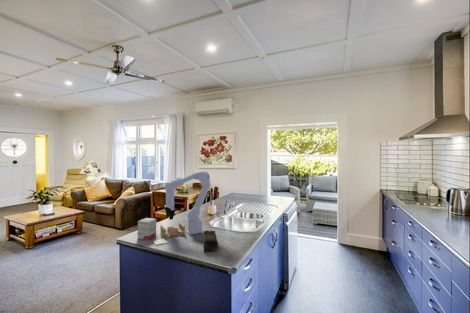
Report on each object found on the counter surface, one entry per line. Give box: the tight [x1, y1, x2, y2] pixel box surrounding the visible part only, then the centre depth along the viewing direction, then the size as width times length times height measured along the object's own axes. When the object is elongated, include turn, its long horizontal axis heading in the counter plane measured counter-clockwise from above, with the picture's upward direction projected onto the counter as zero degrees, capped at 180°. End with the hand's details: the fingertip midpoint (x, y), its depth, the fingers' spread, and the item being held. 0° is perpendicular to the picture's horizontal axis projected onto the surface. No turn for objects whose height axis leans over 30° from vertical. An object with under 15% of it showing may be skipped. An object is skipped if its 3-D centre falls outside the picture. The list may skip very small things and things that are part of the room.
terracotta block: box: [166, 225, 179, 237], centre depth 154 cm, size 6×4×5 cm, turn 121°
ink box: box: [137, 217, 157, 241], centre depth 148 cm, size 9×9×12 cm
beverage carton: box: [202, 230, 218, 253], centre depth 137 cm, size 8×19×7 cm, turn 9°
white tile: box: [152, 238, 168, 246], centre depth 140 cm, size 7×7×1 cm
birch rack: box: [159, 221, 186, 240], centre depth 154 cm, size 14×10×6 cm
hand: (169, 218), depth 160 cm, fingers open, 7 cm apart
